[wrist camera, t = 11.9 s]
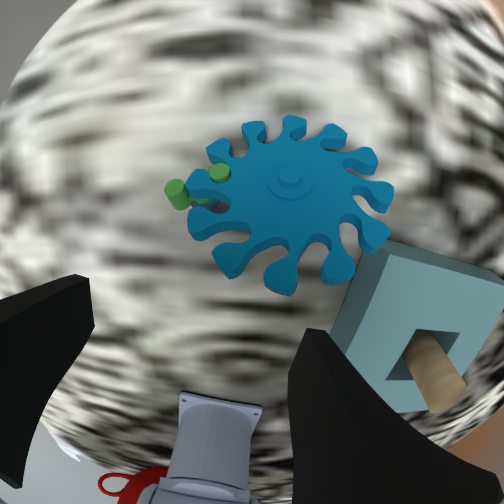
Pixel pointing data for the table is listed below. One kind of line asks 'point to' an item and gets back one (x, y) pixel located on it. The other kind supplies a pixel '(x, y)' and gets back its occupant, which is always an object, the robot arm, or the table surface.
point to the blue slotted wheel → (285, 201)
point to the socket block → (413, 316)
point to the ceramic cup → (134, 484)
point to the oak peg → (433, 371)
